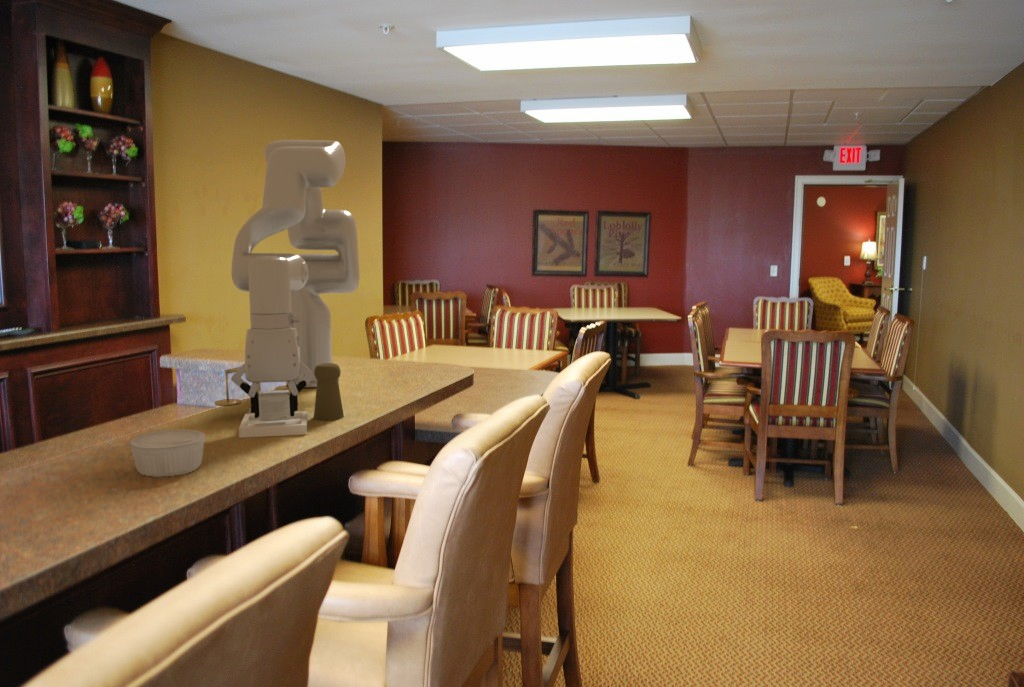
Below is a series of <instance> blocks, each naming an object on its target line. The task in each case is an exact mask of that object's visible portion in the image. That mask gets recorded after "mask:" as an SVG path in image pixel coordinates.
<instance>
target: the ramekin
mask: <svg viewBox="0 0 1024 687" xmlns="http://www.w3.org/2000/svg"><path fill="white" fill-rule="evenodd" d="M205 442H206V435H205V433H204V432H202V431H200V430H194V429H163V430H157V431H151V432H147V433H143V434H140V435H137V436H134V438H133V437H132V439H131V440H130V441H129V448H130V450H131V451H132V456H133V461H134V463H135V467H136V470H137V471H138V473H139V474H140V475H141V476H144V475H146V476H145V477H148V476H153V477H152V478H163V477H162V476H171V477H176V476H175V475H178V476H182V475H181V474H183V475H186V473H187V474H190V473H193V472H194V471H196V470H197V469H198V468H199V467H200V466H201V465H202V463H203V462H202V461H203V454H204V448H205V447H204V446H205V445H204V444H205ZM192 471H193V472H192ZM189 472H190V473H189Z"/></svg>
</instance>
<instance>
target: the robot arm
mask: <svg viewBox="0 0 1024 687" xmlns="http://www.w3.org/2000/svg"><path fill="white" fill-rule="evenodd" d="M264 158H265V162H266V166H265V168H266V169H265V176H264V177H265V178H264V187H263V195H262V196H263V197H262V205H261V208H260V209H259V210H257V211H255V213H254V214H252V215H251V216H250V217H249V218H248V219H247V220H246V222H244V224H243V225H242V226H241V228H240V230H239V231H238V233H237V234H236V237H235V240H234V244H233V252H232V259H231V280H232V283H233V285H234V286H235V288H237V289H238V290H239V291H242V292H246V293H247V292H249V294H248V296H249V318H250V321H249V322H250V323H249V324H250V328H248V329H247V330H246V335H245V341H244V342H245V344H244V363H243V364H242V365H240V366H239V367H240V368H239V369H238V371H237V372H234V373H233V374H232V376H231V378H230V380H231V381H232V382H233V383H234V384H235V385H236V386H238V387H239V388H240V389H241V390H242V391H243V392H245V394H247V395H248V397H249V398H250V407H251V413H255V418H258V417H259V395H258V392H257V389H258V386H259V383H286V382H287V383H288V386H289V388H290V390H291V392H290V393H289V400H290V416H294V414H295V412H299V402H298V400H299V399H298V397H299V396H298V395H299V394H300V393H301V392H302V391H303V389H304V388H317V379H316V378H315V374H314V370H315V367H316V366H317V365H319V364H322V363H333V350H332V348H333V347H332V320H331V319H332V317H331V310H330V308H329V306H328V304H327V303H326V302H325V301H324V300H323V298H322V297H321V296H320V295H322V294H350V293H354V292H355V291H356V290H357V289H358V287H359V284H360V264H359V263H360V258H359V246H358V244H359V242H358V231H357V222H356V220H355V217H354V215H353V214H352V213H351V212H350V211H349V210H345V209H326V208H324V205H323V192H322V190H323V189H322V188H333V187H335V186H336V185H337V184H338V182H340V180H341V179H342V177H343V175H344V173H345V169H346V160H347V159H346V153H345V149H344V148H343V146H342V144H341V143H340V142H339V141H337V140H326V139H323V140H322V139H321V140H320V139H315V140H314V139H310V140H309V139H280V140H279V139H278V140H274V141H271V142H268V143H267V144H266V145H265V149H264ZM286 230H287V235H288V240H289V243H290V245H291V246H292V247H293V248H295V249H297V250H305V251H335V252H337V253H299V254H295V253H288V252H286V253H278V252H277V253H275V252H270V253H269V252H264V253H263V252H255V253H254V252H253V251H254V249H255V247H256V246H257V245H258V244H259V243H261V242H262V241H264V240H266V239H267V238H269V237H272V236H274V235H276V234H278V233H279V234H280V233H281V232H283V231H286ZM243 375H244V376H245V379H246V381H245V380H244V379H243V378H242V376H243ZM247 381H248V382H250V383H251V385H250V384H249V383H248V382H247ZM339 382H340V378H339V379H338V383H339Z"/></svg>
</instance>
